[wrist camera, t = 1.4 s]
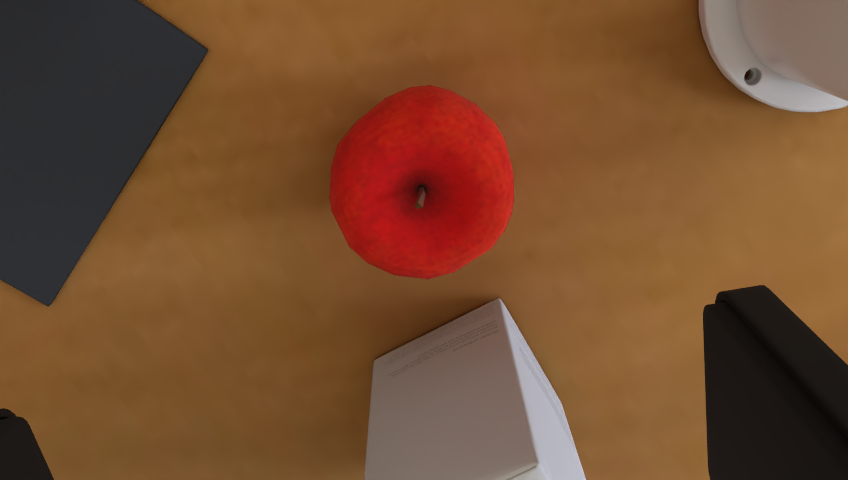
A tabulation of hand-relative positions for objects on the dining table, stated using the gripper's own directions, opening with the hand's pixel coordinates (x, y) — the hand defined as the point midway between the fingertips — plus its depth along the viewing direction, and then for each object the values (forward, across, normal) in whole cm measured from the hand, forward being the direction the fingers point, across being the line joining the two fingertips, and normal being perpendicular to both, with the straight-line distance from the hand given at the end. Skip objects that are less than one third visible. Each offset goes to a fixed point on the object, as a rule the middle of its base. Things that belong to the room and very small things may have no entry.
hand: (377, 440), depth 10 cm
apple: (+31, 0, +5) cm, 31 cm away
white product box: (+31, -1, +20) cm, 37 cm away
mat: (+31, +21, -2) cm, 37 cm away
